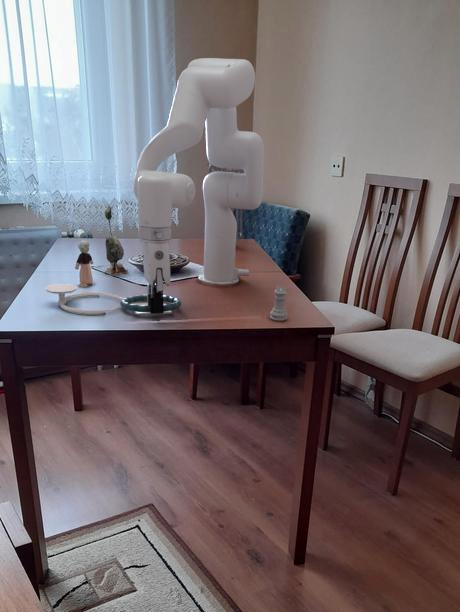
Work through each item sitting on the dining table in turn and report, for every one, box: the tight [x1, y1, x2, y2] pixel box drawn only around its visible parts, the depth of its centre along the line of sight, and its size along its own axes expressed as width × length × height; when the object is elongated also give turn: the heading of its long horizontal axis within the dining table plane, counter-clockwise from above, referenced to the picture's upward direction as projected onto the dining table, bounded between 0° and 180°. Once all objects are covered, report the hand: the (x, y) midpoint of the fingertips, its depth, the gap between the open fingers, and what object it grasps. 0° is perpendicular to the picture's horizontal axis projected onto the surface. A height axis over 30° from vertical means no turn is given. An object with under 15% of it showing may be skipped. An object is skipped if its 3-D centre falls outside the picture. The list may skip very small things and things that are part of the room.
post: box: [130, 283, 173, 316], centre depth 140 cm, size 9×9×7 cm
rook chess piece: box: [269, 286, 288, 322], centre depth 140 cm, size 4×4×8 cm
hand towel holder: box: [44, 282, 125, 316], centre depth 143 cm, size 17×4×21 cm
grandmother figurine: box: [74, 239, 94, 288], centre depth 158 cm, size 8×4×13 cm, turn 168°
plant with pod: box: [104, 205, 130, 276], centre depth 170 cm, size 8×11×20 cm
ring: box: [119, 294, 182, 312], centre depth 140 cm, size 15×15×2 cm
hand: (155, 311), depth 135 cm, fingers closed on ring, 2 cm apart
